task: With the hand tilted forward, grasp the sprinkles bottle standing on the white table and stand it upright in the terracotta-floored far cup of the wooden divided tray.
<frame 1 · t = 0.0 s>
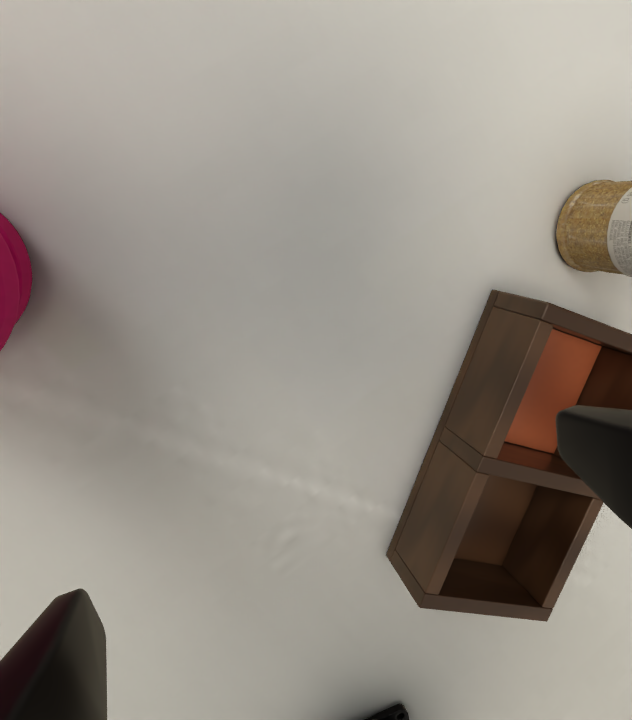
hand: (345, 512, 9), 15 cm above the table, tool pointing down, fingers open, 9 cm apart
sprinkles bottle: (585, 227, 26), on the table
wooden divided tray: (496, 443, 28), on the table
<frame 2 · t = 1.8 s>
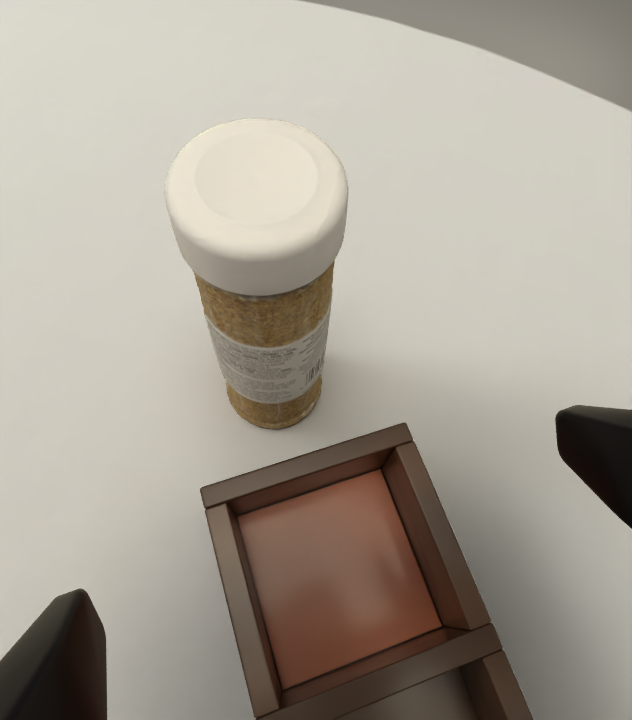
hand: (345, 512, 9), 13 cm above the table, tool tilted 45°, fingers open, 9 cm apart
sprinkles bottle: (274, 388, 25), on the table
wooden divided tray: (366, 667, 20), on the table
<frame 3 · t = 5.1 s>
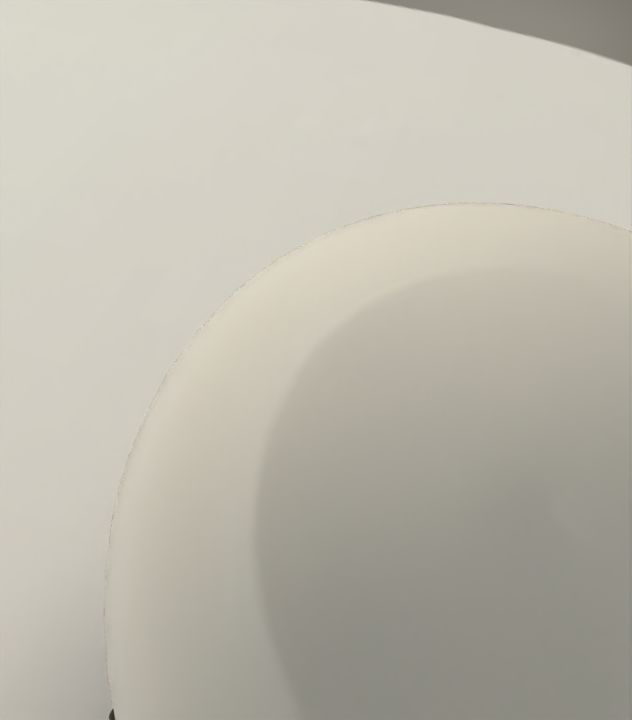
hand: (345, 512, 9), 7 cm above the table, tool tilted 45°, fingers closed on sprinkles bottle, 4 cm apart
sprinkles bottle: (343, 605, 15), on the table, touching gripper
when the fingers open (7 cm above the table, at t = 10.2 s): sprinkles bottle stays where it is, resting on wooden divided tray.
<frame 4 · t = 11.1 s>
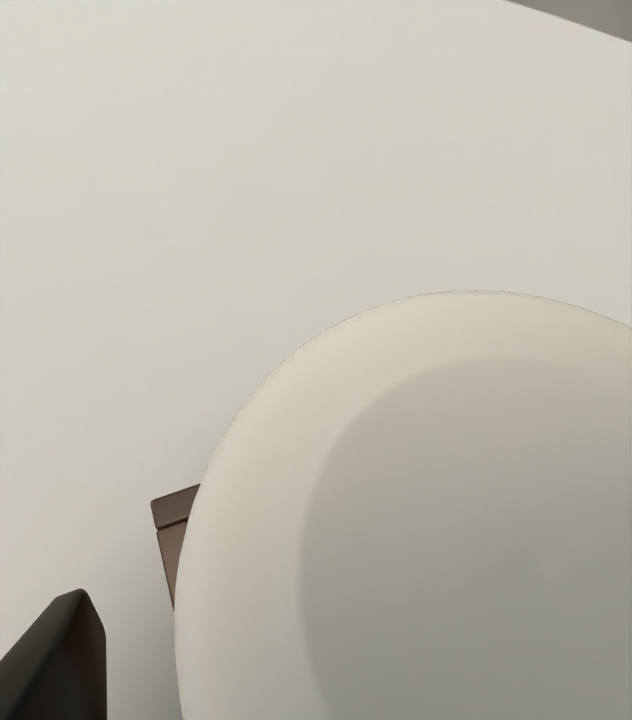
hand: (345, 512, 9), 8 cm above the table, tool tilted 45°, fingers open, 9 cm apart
sprinkles bottle: (346, 616, 15), point 1 cm above the table, touching wooden divided tray
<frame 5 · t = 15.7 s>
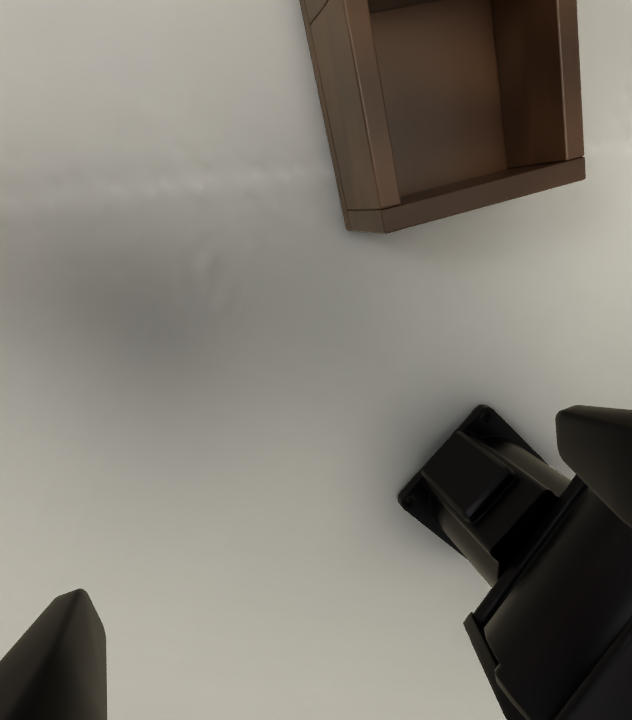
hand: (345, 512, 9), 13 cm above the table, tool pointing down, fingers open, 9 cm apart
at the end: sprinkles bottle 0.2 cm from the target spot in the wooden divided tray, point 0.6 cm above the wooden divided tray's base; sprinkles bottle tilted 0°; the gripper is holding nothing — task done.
